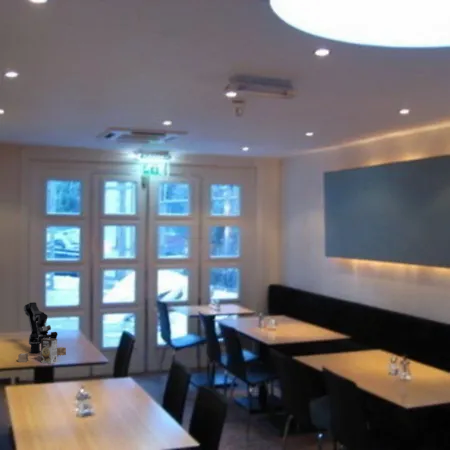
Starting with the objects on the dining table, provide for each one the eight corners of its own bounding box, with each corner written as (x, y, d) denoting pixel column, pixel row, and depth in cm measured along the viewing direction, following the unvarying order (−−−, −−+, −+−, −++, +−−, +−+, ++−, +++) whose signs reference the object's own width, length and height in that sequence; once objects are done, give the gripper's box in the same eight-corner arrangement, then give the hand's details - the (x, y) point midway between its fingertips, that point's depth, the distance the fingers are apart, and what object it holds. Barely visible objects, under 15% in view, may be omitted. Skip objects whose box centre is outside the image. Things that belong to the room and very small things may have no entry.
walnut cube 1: (20, 360, 415) (20, 353, 415) (28, 360, 415) (28, 353, 415) (18, 362, 410) (18, 354, 410) (25, 362, 410) (25, 354, 410)
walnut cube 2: (61, 353, 437) (61, 346, 436) (65, 354, 434) (65, 347, 434) (55, 355, 432) (55, 347, 432) (60, 356, 430) (60, 348, 429)
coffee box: (40, 362, 410) (40, 339, 409) (46, 360, 415) (46, 337, 415) (51, 363, 406) (51, 340, 406) (57, 361, 412) (57, 338, 412)
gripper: (30, 322, 417) (34, 341, 408) (56, 320, 427) (61, 338, 417) (27, 332, 424) (31, 350, 414) (53, 329, 433) (58, 347, 424)
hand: (45, 346), depth 417 cm, fingers closed
